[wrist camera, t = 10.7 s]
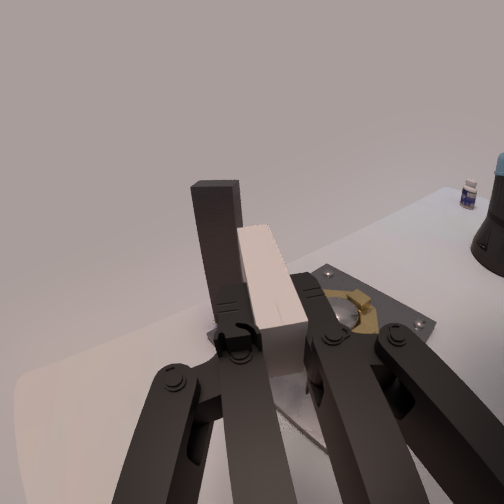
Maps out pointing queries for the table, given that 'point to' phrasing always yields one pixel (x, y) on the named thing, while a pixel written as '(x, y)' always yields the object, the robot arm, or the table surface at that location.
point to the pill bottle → (469, 194)
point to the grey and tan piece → (227, 247)
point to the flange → (388, 311)
